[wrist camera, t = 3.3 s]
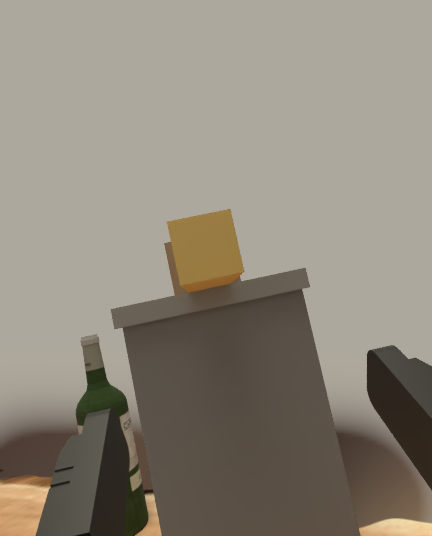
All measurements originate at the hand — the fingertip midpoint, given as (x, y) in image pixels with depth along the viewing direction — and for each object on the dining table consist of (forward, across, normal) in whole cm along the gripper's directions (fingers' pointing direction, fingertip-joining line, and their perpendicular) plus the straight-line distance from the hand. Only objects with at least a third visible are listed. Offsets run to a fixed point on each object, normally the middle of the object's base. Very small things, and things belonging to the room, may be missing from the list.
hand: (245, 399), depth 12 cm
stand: (+8, 0, +36) cm, 37 cm away
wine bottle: (+30, +20, +49) cm, 61 cm away
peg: (+17, 0, +5) cm, 17 cm away
